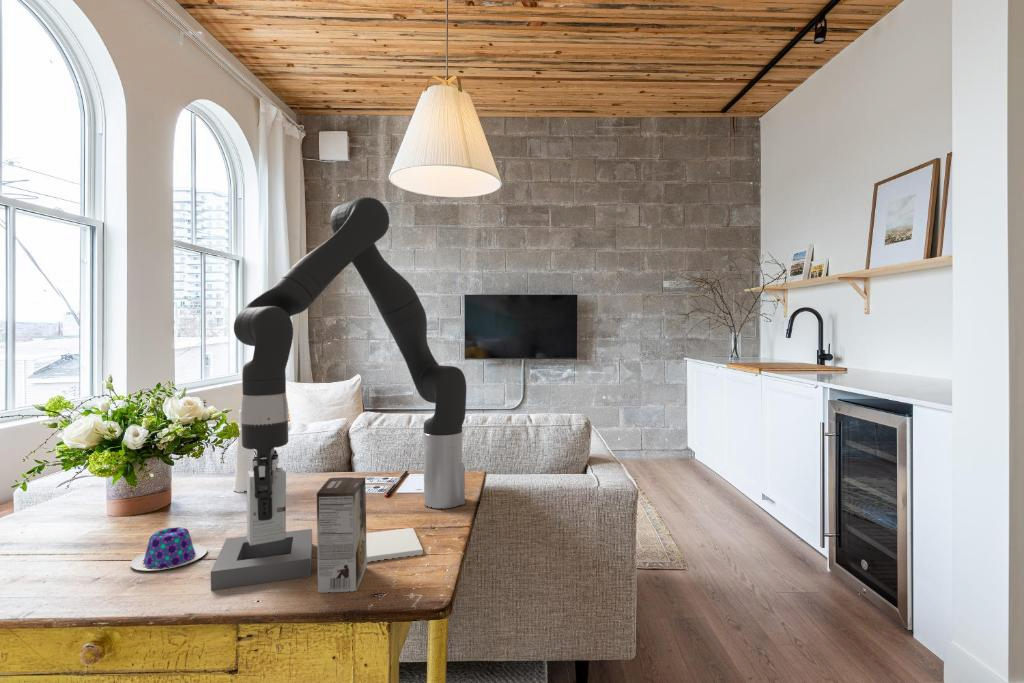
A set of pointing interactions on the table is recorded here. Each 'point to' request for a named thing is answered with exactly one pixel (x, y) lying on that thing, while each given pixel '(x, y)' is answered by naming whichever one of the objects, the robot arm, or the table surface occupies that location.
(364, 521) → the coffee box
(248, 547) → the grey square frame
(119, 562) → the table surface
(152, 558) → the purple patterned hat
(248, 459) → the cosmetic bottle
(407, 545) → the white mat
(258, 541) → the skincare box
